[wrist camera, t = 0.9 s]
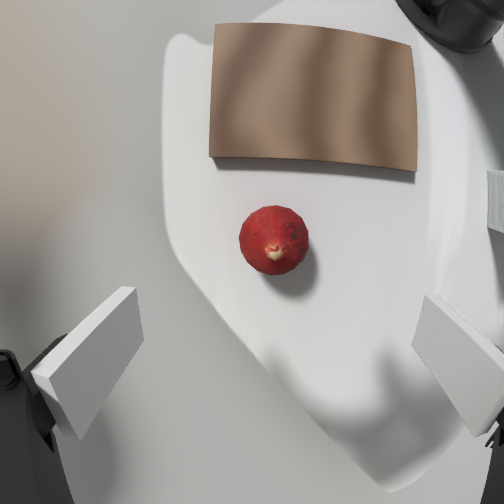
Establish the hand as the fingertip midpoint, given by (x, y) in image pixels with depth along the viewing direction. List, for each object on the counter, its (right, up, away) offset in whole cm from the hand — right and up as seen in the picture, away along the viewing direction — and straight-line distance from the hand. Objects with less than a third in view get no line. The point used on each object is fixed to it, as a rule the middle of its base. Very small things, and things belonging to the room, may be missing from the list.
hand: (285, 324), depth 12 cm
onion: (+1, +5, +16) cm, 17 cm away
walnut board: (+5, +18, +12) cm, 23 cm away
